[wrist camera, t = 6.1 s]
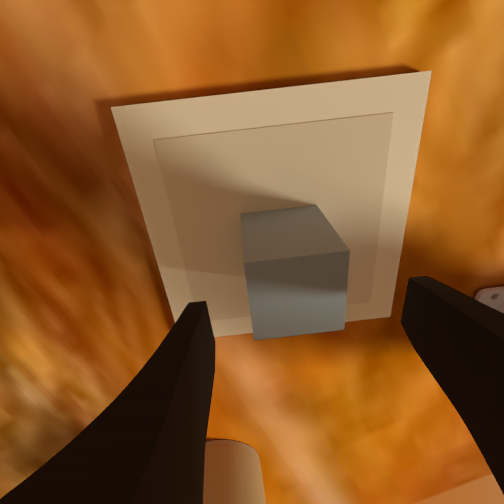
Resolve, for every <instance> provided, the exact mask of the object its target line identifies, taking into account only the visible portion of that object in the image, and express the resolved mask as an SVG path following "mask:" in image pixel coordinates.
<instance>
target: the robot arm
mask: <svg viewBox="0 0 504 504" xmlns="http://www.w3.org/2000/svg"><path fill="white" fill-rule="evenodd" d="M401 324H402V326H403V328H404V330H405V332H406V334H407V336H408V338H409V340H410V342H411V344H412V345H413V347H414V349H415V350H416V352H417V353H418V355H419V356H420V358H421V359H422V361H423V362H424V364H425V365H426V367H427V368H428V370H429V371H430V372H431V374H432V375H433V377H434V378H435V380H436V381H437V382H438V384H439V385H440V387H441V388H442V390H443V391H444V393H445V394H446V395H447V397H448V398H449V400H450V401H451V403H452V404H453V405H454V407H455V408H456V410H457V412H458V413H459V415H460V416H461V418H462V419H463V421H464V423H465V424H466V426H467V428H468V430H469V431H470V433H471V435H472V437H473V439H474V440H475V442H476V444H477V446H478V447H479V449H480V451H481V453H482V454H483V456H484V458H485V460H486V462H487V464H488V466H489V468H490V470H491V471H492V473H493V475H494V477H495V479H496V481H497V483H498V484H499V486H500V488H501V490H502V492H503V494H504V286H502V287H493V288H485V289H482V290H480V291H479V292H478V293H477V294H476V297H475V299H473V298H471V297H469V296H467V295H465V294H463V293H461V292H459V291H457V290H455V289H453V288H451V287H449V286H447V285H445V284H443V283H441V282H439V281H437V280H435V279H432V278H430V277H428V276H422V277H413V278H409V281H408V286H407V292H406V297H405V302H404V307H403V313H402V318H401ZM214 373H215V339H214V334H213V330H212V325H211V321H210V316H209V312H208V307H207V303H206V301H198V302H189V303H188V304H187V305H186V307H185V309H184V310H183V312H182V313H181V315H180V316H179V318H178V320H177V321H176V323H175V324H174V326H173V327H172V329H171V330H170V332H169V333H168V334H167V336H166V337H165V339H164V340H163V341H162V343H161V344H160V346H159V347H158V349H157V350H156V351H155V353H154V354H153V355H152V356H151V358H150V359H149V360H148V361H147V363H146V364H145V365H144V367H143V368H142V369H141V370H140V372H139V373H138V374H137V375H136V376H135V378H134V379H133V380H132V381H131V382H130V383H129V384H128V386H127V387H126V388H125V389H124V390H123V391H122V392H121V393H120V394H119V395H118V397H117V398H116V399H115V400H114V401H113V402H112V403H111V404H110V405H109V406H108V407H107V408H106V409H105V410H104V411H103V412H102V413H101V414H100V415H99V416H98V417H97V418H96V419H95V420H93V421H92V422H91V423H90V424H89V425H88V426H87V427H86V428H85V429H84V430H83V431H82V432H81V433H80V434H79V435H78V436H77V437H75V438H74V439H73V440H72V441H71V442H70V443H69V444H67V445H66V446H65V447H64V448H63V449H62V450H61V451H59V452H58V453H57V454H56V455H55V456H54V457H52V458H51V459H50V460H49V461H48V462H46V463H45V464H44V465H43V466H42V467H40V468H39V469H38V470H37V471H35V472H34V473H33V474H32V475H31V476H29V477H28V478H27V479H25V480H24V481H23V482H22V483H20V484H19V485H18V486H16V487H15V488H14V489H12V490H11V491H10V492H9V493H7V494H6V495H5V496H3V497H2V498H1V499H0V504H203V488H204V463H205V445H206V435H207V427H208V419H209V412H210V404H211V397H212V389H213V381H214Z"/></svg>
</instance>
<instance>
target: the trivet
mask: <svg viewBox="0 0 504 504" xmlns="http://www.w3.org/2000/svg"><path fill="white" fill-rule="evenodd" d="M431 72H432V71H423V72H414V73H405V74H396V75H387V76H379V77H370V78H361V79H352V80H344V81H335V82H326V83H317V84H308V85H300V86H291V87H282V88H273V89H264V90H256V91H247V92H238V93H229V94H221V95H212V96H203V97H194V98H185V99H177V100H168V101H159V102H150V103H141V104H133V105H124V106H116V107H111V110H112V114H113V117H114V120H115V124H116V127H117V130H118V134H119V137H120V140H121V144H122V147H123V150H124V154H125V157H126V160H127V164H128V167H129V170H130V174H131V177H132V180H133V184H134V187H135V191H136V194H137V197H138V201H139V204H140V207H141V211H142V214H143V217H144V221H145V224H146V227H147V231H148V234H149V237H150V241H151V244H152V247H153V251H154V254H155V257H156V261H157V264H158V267H159V271H160V274H161V277H162V281H163V284H164V287H165V291H166V294H167V297H168V301H169V304H170V307H171V311H172V314H173V318H174V321H175V323H176V321H177V320H178V318H179V316H180V315H181V313H182V312H183V310H184V309H185V307H186V305H187V304H188V303H189V302H198V301H206V303H207V307H208V312H209V316H210V321H211V325H212V330H213V334H214V337H221V336H229V335H238V334H246V333H253V329H252V321H251V314H250V306H249V299H248V292H247V284H246V277H245V269H244V261H243V245H242V230H241V215H240V214H242V213H250V212H259V211H267V210H276V209H284V208H293V207H301V206H310V205H317V206H318V207H319V209H320V210H321V211H322V213H323V214H324V216H325V217H326V218H327V220H328V221H329V222H330V224H331V225H332V227H333V228H334V229H335V231H336V232H337V233H338V235H339V236H340V238H341V239H342V240H343V242H344V243H345V244H346V246H347V247H348V249H349V250H350V257H349V271H348V286H347V300H346V315H345V322H350V321H358V320H367V319H375V318H384V317H390V316H391V310H392V304H393V298H394V292H395V286H396V280H397V274H398V268H399V262H400V256H401V250H402V244H403V238H404V233H405V227H406V221H407V215H408V209H409V203H410V197H411V191H412V185H413V179H414V173H415V167H416V161H417V155H418V149H419V143H420V138H421V132H422V126H423V120H424V114H425V108H426V102H427V96H428V90H429V84H430V78H431Z"/></svg>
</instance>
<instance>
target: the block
mask: <svg viewBox="0 0 504 504" xmlns="http://www.w3.org/2000/svg"><path fill="white" fill-rule="evenodd" d="M240 215H241V230H242V245H243V261H244V269H245V277H246V284H247V292H248V299H249V306H250V314H251V321H252V329H253V336H254V340H262V339H270V338H279V337H287V336H296V335H304V334H313V333H321V332H330V331H338V330H344V329H345V315H346V300H347V286H348V271H349V257H350V250H349V249H348V247H347V246H346V244H345V243H344V242H343V240H342V239H341V238H340V236H339V235H338V233H337V232H336V231H335V229H334V228H333V227H332V225H331V224H330V222H329V221H328V220H327V218H326V217H325V216H324V214H323V213H322V211H321V210H320V209H319V207H318V206H317V205H310V206H301V207H293V208H284V209H276V210H267V211H259V212H250V213H242V214H240Z"/></svg>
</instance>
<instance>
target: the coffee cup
mask: <svg viewBox="0 0 504 504" xmlns="http://www.w3.org/2000/svg"><path fill="white" fill-rule="evenodd" d="M203 504H266V501H265V494H264V486H263V479H262V472H261V466H260V460H259V456H258V454H257V452H256V451H255V450H254V449H253V448H252V447H250V446H248V445H247V444H245V443H242V442H238V441H234V440H211V441H206V445H205V463H204V488H203Z"/></svg>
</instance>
